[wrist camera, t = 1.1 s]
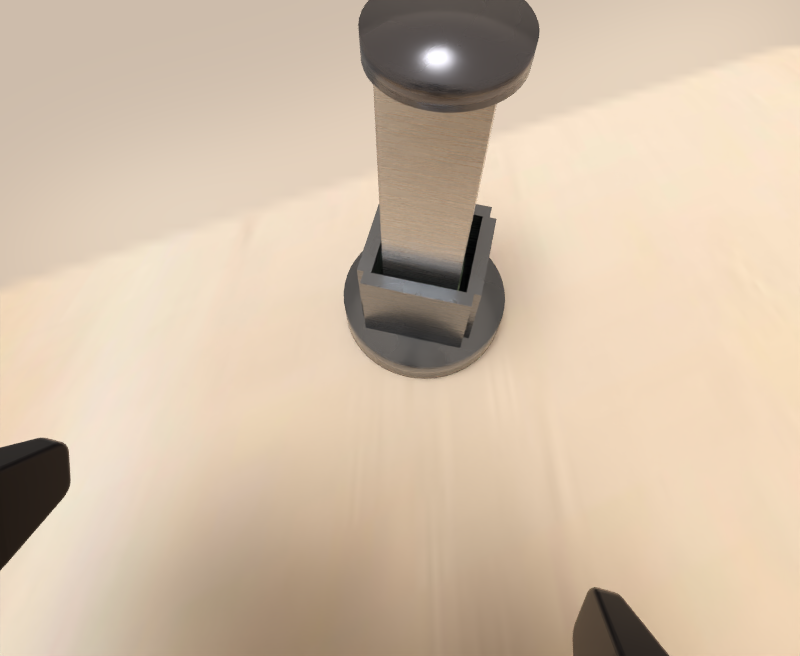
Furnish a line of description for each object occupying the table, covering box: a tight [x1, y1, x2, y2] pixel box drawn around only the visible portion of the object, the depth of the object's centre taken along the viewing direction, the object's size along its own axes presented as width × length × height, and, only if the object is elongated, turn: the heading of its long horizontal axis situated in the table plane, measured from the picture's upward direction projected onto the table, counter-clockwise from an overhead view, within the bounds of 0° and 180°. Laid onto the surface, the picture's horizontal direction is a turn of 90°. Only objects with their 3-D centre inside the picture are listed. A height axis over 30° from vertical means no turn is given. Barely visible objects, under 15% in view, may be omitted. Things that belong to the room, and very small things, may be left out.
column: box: [358, 0, 539, 291], centre depth 18 cm, size 5×5×13 cm
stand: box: [344, 204, 505, 378], centre depth 23 cm, size 8×8×6 cm
